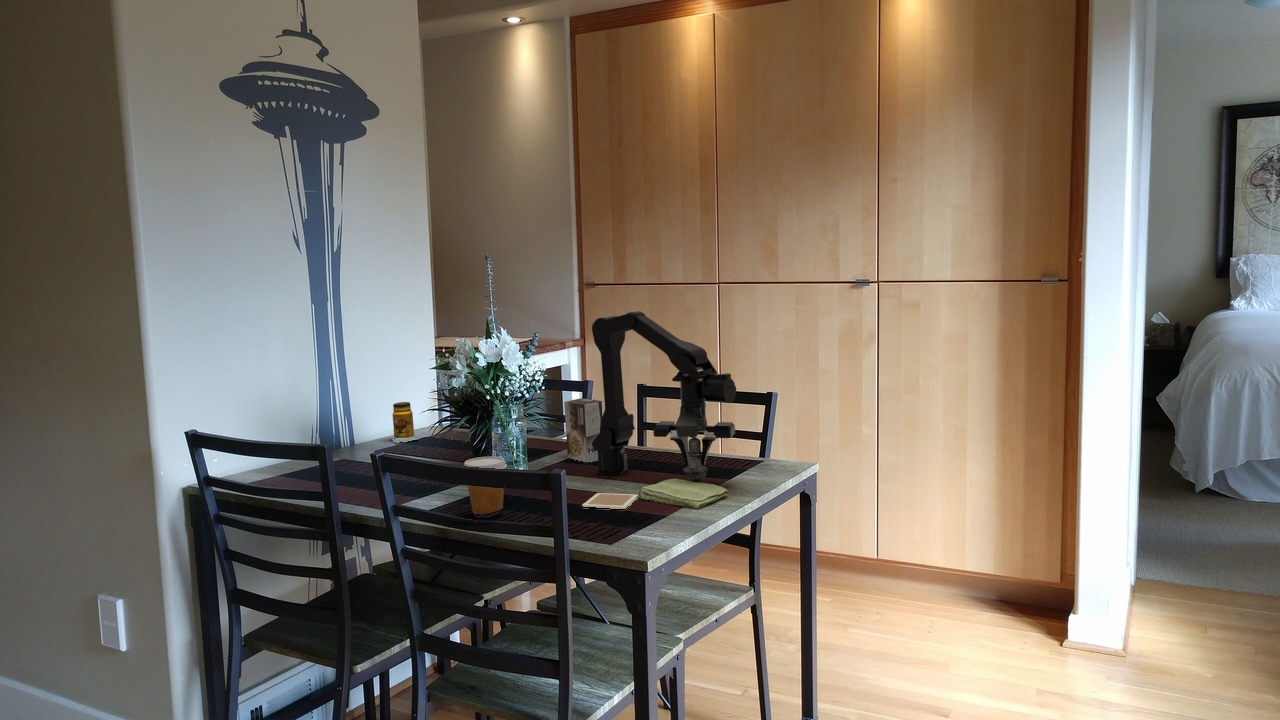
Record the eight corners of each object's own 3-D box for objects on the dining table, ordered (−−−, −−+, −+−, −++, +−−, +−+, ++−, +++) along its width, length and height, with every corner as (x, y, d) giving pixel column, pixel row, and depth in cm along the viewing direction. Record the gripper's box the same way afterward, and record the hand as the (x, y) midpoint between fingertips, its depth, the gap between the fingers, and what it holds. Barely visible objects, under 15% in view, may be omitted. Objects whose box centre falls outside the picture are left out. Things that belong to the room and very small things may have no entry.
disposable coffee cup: (513, 507, 203) (510, 455, 202) (505, 520, 194) (502, 465, 192) (471, 509, 203) (467, 456, 202) (461, 521, 194) (457, 467, 192)
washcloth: (698, 512, 195) (698, 498, 194) (635, 501, 206) (634, 487, 205) (732, 498, 205) (731, 484, 205) (669, 487, 216) (669, 474, 216)
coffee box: (605, 459, 246) (603, 400, 245) (587, 463, 242) (584, 404, 240) (584, 454, 253) (581, 397, 251) (566, 458, 249) (563, 400, 247)
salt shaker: (706, 486, 214) (705, 436, 212) (682, 486, 215) (680, 436, 213) (709, 480, 219) (708, 431, 218) (685, 480, 221) (683, 431, 219)
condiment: (395, 444, 278) (392, 405, 277) (390, 439, 286) (387, 402, 285) (419, 441, 282) (416, 403, 280) (413, 436, 289) (410, 399, 288)
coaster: (582, 508, 200) (582, 504, 200) (597, 495, 210) (597, 492, 210) (625, 510, 197) (625, 506, 197) (638, 497, 207) (638, 494, 207)
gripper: (645, 406, 210) (648, 472, 212) (724, 407, 204) (726, 474, 206) (658, 398, 220) (661, 460, 222) (734, 398, 215) (736, 463, 217)
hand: (695, 465), depth 217 cm, fingers closed on salt shaker, 3 cm apart
